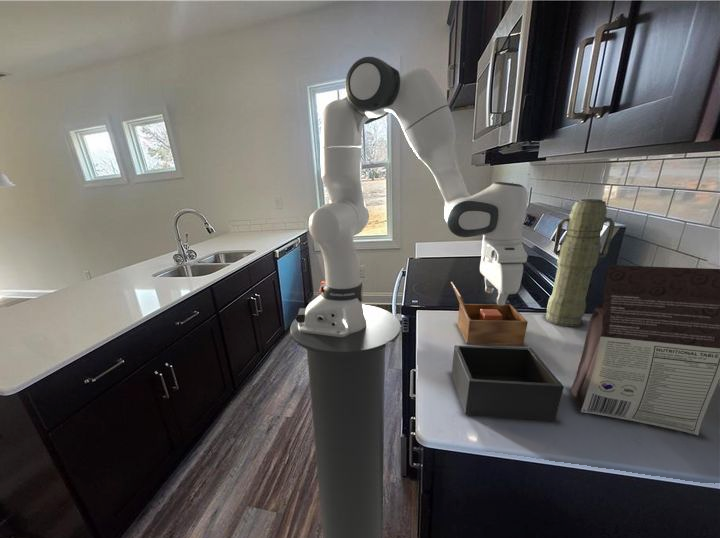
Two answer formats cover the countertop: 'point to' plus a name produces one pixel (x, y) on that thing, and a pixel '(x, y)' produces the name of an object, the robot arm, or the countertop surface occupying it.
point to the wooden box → (492, 325)
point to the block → (490, 314)
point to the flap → (460, 300)
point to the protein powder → (653, 347)
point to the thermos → (577, 260)
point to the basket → (505, 383)
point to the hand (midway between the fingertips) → (494, 298)
